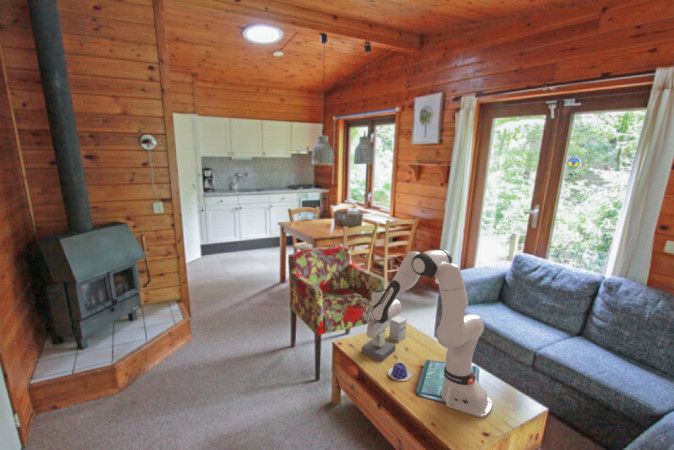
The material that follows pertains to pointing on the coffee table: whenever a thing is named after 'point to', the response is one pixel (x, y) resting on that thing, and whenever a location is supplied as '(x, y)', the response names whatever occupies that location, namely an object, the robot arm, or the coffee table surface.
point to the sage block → (380, 339)
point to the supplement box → (398, 328)
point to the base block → (378, 350)
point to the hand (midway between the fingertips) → (378, 338)
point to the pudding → (399, 372)
